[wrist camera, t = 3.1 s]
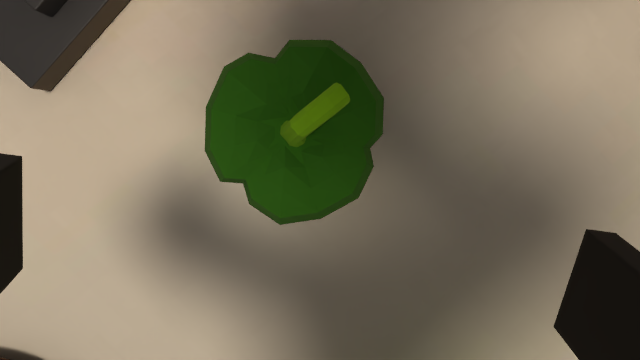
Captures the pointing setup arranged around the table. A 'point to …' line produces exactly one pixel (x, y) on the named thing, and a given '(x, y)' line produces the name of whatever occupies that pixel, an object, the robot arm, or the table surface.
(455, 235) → the table surface
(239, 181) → the bell pepper
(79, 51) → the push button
